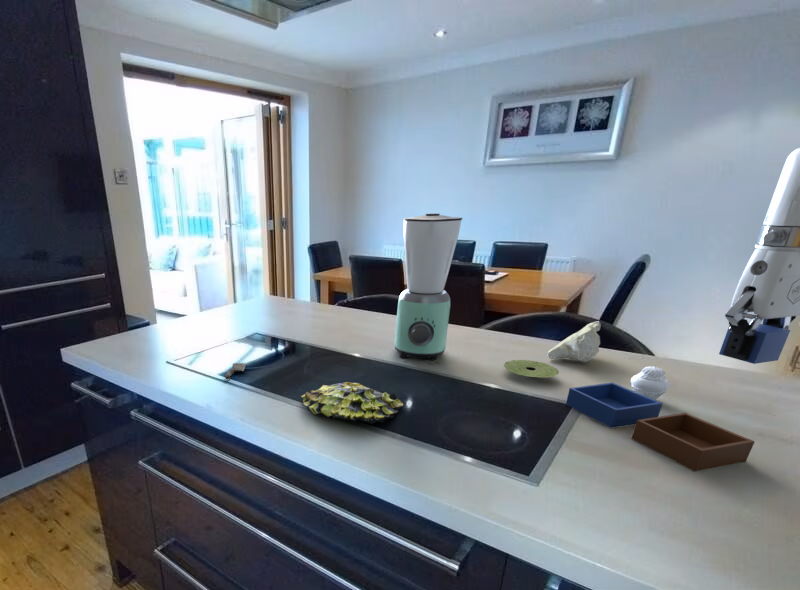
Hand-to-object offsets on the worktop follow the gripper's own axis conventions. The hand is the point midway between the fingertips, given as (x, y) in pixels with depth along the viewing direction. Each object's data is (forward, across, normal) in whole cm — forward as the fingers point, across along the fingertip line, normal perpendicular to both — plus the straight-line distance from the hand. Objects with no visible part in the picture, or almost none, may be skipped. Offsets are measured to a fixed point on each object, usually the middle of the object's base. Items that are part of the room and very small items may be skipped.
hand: (748, 354), depth 71 cm
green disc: (+14, -13, +31) cm, 36 cm away
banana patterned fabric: (+13, -59, +27) cm, 66 cm away
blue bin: (+14, -12, +11) cm, 21 cm away
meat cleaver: (+13, -79, +53) cm, 96 cm away
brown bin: (+14, -12, -3) cm, 19 cm away
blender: (+14, -29, +53) cm, 62 cm away
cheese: (+14, +7, +39) cm, 42 cm away
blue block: (0, 0, 0) cm, 0 cm away
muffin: (+14, 0, +14) cm, 20 cm away
